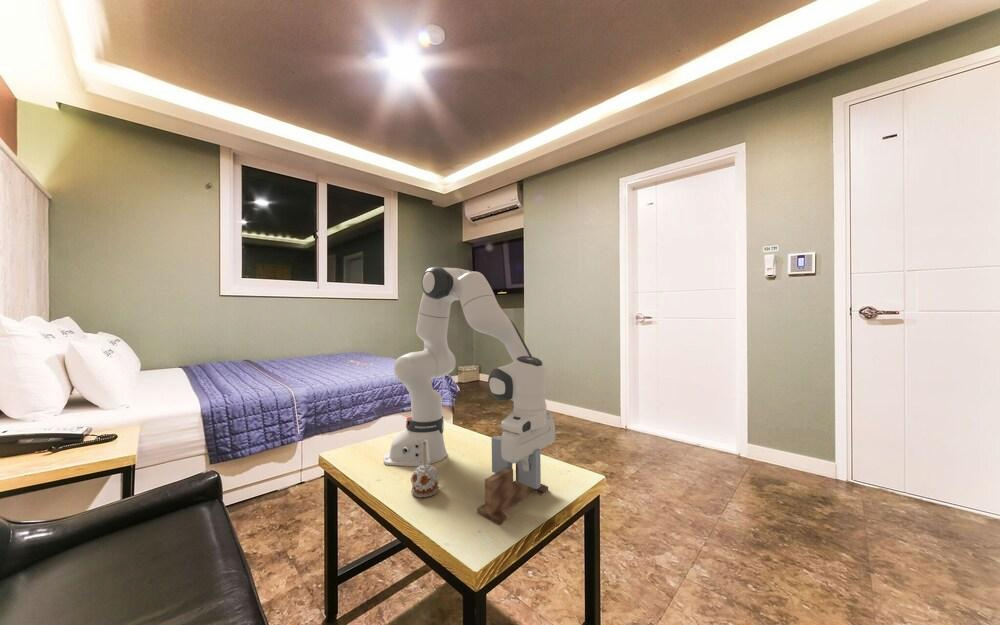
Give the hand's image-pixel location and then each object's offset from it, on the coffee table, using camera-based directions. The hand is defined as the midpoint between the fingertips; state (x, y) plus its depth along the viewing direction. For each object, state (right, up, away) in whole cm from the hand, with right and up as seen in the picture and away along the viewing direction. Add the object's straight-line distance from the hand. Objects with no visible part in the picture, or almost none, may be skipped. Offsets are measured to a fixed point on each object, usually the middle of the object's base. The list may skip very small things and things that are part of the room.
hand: (530, 468), depth 96 cm
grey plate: (-4, -5, +4) cm, 7 cm away
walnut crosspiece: (-4, -11, +4) cm, 12 cm away
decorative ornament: (-31, -11, +9) cm, 34 cm away
